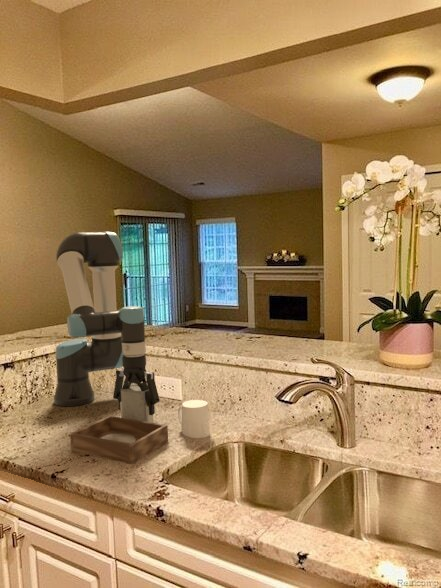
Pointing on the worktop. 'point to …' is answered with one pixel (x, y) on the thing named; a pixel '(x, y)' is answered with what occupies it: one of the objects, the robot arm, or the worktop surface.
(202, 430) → the mug
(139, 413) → the grey speckled cylinder
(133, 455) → the box
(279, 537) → the worktop surface
